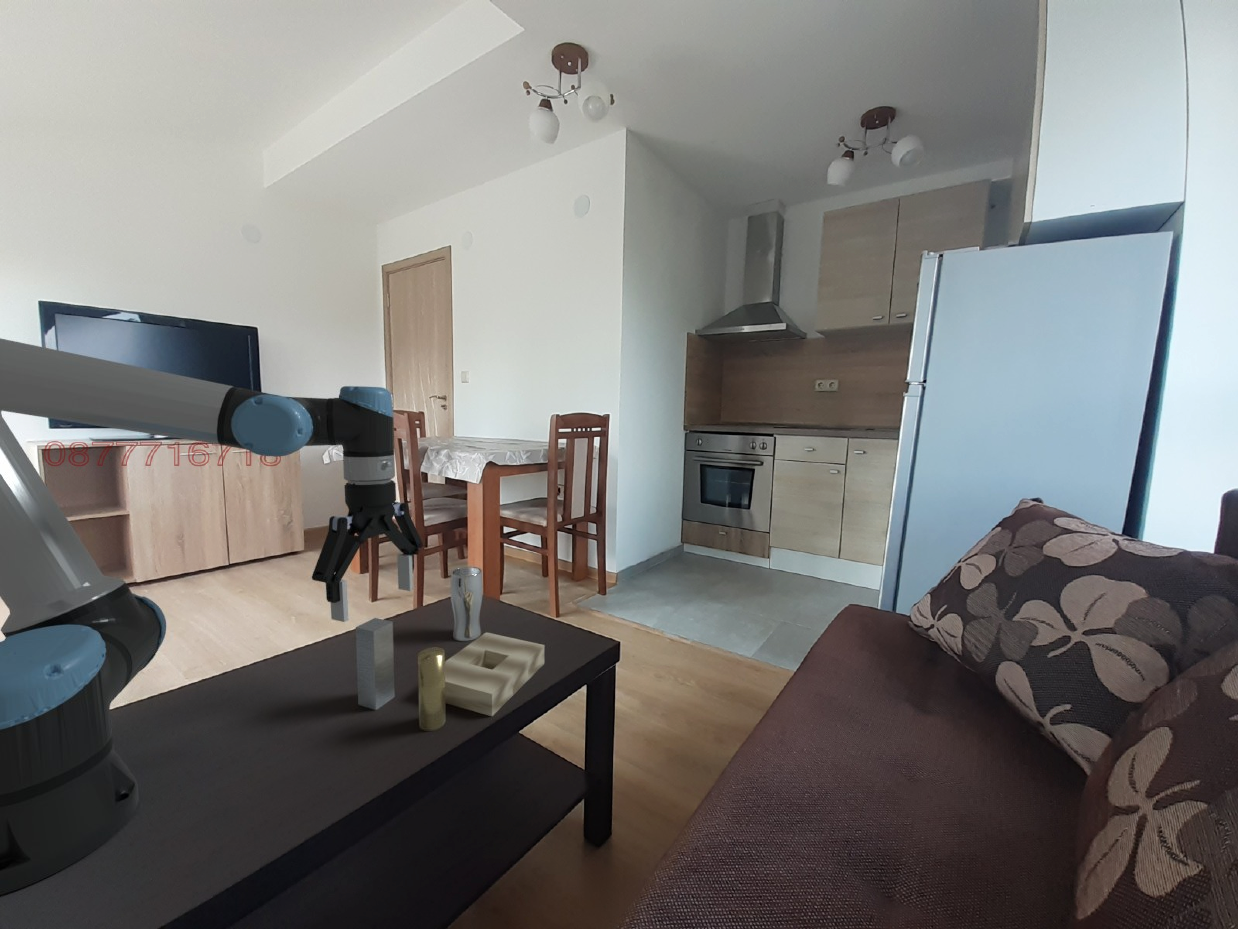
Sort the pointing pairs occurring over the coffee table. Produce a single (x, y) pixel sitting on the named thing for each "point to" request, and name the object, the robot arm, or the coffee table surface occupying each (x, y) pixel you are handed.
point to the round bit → (431, 688)
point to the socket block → (490, 672)
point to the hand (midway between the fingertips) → (375, 603)
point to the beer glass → (466, 602)
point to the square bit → (375, 663)
